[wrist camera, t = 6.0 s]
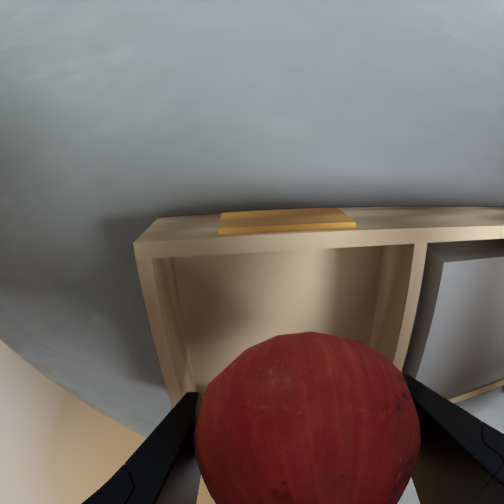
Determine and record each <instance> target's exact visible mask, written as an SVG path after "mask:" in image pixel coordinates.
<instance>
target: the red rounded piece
mask: <svg viewBox="0 0 504 504" xmlns="http://www.w3.org/2000/svg"><path fill="white" fill-rule="evenodd" d="M193 437H194V449H195V459H196V462H197V464H198V467H199V470H200V472H201V475H202V477H203V480H204V482H205V484H206V486H207V489H208V491H209V493H210V495H211V497H212V498H213V500H214V501H215V503H216V504H397V503H398V501H399V500H400V498H401V496H402V494H403V492H404V490H405V488H406V486H407V484H408V482H409V480H410V478H411V476H412V473H413V471H414V469H415V466H416V464H417V460H418V455H419V451H420V446H421V435H420V422H419V418H418V415H417V412H416V409H415V406H414V403H413V400H412V396H411V394H410V391H409V389H408V386H407V384H406V381H405V379H404V376H403V374H402V372H401V371H400V370H399V369H398V368H397V367H396V366H395V365H394V364H392V363H391V362H390V361H389V360H388V359H387V358H386V357H385V356H383V355H382V354H380V353H378V352H376V351H375V350H373V349H371V348H370V347H368V346H366V345H365V344H363V343H361V342H360V341H358V340H354V339H349V338H345V337H340V336H334V335H328V334H323V333H317V332H312V331H310V332H302V333H293V334H284V335H277V336H275V337H272V338H270V339H268V340H266V341H263V342H261V343H259V344H257V345H254V346H252V347H250V348H247V349H246V350H244V351H243V352H242V353H241V354H240V355H239V356H238V357H237V358H236V359H235V360H234V361H233V362H231V363H230V364H229V365H228V366H227V367H226V368H225V369H224V370H223V371H222V372H221V373H220V374H219V375H218V376H216V377H215V378H214V379H213V380H212V381H211V382H210V383H209V384H208V386H207V390H206V393H205V396H204V399H203V402H202V406H201V409H200V412H199V416H198V420H197V423H196V427H195V431H194V434H193Z"/></svg>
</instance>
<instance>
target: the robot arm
mask: <svg viewBox="0 0 504 504" xmlns="http://www.w3.org/2000/svg"><path fill="white" fill-rule="evenodd" d="M402 374H403V376H404V379H405V381H406V384H407V386H408V389H409V391H410V394H411V396H412V400H413V403H414V406H415V409H416V412H417V415H418V418H419V422H420V435H421V446H420V451H419V455H418V460H417V464H416V466H415V469H414V471H413V473H412V476H411V477H412V480H413V483H414V486H415V489H416V492H417V495H418V498H419V501H420V504H504V434H503V433H501V432H499V431H497V430H496V429H494V428H492V427H491V426H489V425H487V424H486V423H484V422H481V420H479V419H478V418H476V417H474V416H473V415H471V414H470V413H468V412H467V411H465V410H463V409H462V408H460V407H459V406H457V405H455V404H454V403H452V402H451V401H449V400H448V399H446V398H444V397H443V396H441V395H440V394H438V393H437V392H435V391H433V390H432V389H430V388H429V387H427V386H426V385H424V384H423V383H421V382H419V381H418V380H416V379H415V378H413V377H412V376H410V375H409V374H407V373H405V372H402ZM202 402H203V400H202V396H201V393H200V392H187V393H185V395H184V396H183V397H182V398H181V399H180V400H179V402H178V403H177V404H176V405H175V406H174V407H173V409H172V410H171V411H170V412H169V413H168V414H167V416H166V417H165V418H164V419H163V420H162V421H161V423H160V424H159V425H158V426H157V427H156V428H155V430H154V431H153V432H152V433H151V434H150V435H149V436H148V438H147V439H146V440H145V441H144V442H143V443H142V444H141V446H140V447H139V448H138V449H137V450H136V451H135V452H134V453H133V455H132V456H131V457H130V458H129V459H128V460H127V461H126V463H125V465H123V466H122V467H121V468H120V469H119V470H118V471H117V472H116V473H115V474H114V475H113V476H112V478H110V479H109V481H107V482H106V483H105V484H104V485H103V486H102V487H101V488H100V489H99V490H97V491H96V492H95V493H94V494H93V495H91V496H90V497H89V498H88V499H87V500H85V501H84V502H83V503H82V504H196V501H197V495H198V489H199V483H200V477H201V472H200V470H199V467H198V464H197V462H196V459H195V449H194V437H193V434H194V431H195V427H196V423H197V420H198V416H199V412H200V409H201V406H202Z"/></svg>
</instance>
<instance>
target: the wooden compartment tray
mask: <svg viewBox="0 0 504 504" xmlns="http://www.w3.org/2000/svg"><path fill="white" fill-rule="evenodd" d="M133 247H134V253H135V258H136V264H137V269H138V274H139V279H140V284H141V289H142V294H143V299H144V303H145V308H146V312H147V317H148V321H149V325H150V329H151V333H152V337H153V341H154V345H155V349H156V353H157V357H158V361H159V364H160V368H161V371H162V375H163V378H164V382H165V385H166V389H167V392H168V395H169V399H170V402H171V405H172V408H173V407H174V406H175V405H176V404H177V403H178V402H179V400H180V399H181V398H182V397H183V396H184V395H185V393H187V392H200V393H201V396H202V400H203V399H204V396H205V393H206V390H207V386H208V384H209V383H210V382H211V381H212V380H213V379H214V378H215V377H216V376H218V375H219V374H220V373H221V372H222V371H223V370H224V369H225V368H226V367H227V366H228V365H229V364H230V363H231V362H233V361H234V360H235V359H236V358H237V357H238V356H239V355H240V354H241V353H242V352H243V351H244V350H246V349H247V348H250V347H252V346H254V345H257V344H259V343H261V342H263V341H266V340H268V339H270V338H272V337H275V336H277V335H284V334H293V333H302V332H310V331H312V332H317V333H323V334H328V335H334V336H340V337H345V338H349V339H354V340H358V341H360V342H361V343H363V344H365V345H366V346H368V347H370V348H371V349H373V350H375V351H376V352H378V353H380V354H382V355H383V356H385V357H386V358H387V359H388V360H389V361H390V362H391V363H392V364H394V365H395V366H396V367H397V368H398V369H399V370H400V371H401V372H405V373H407V374H409V375H410V376H412V377H413V378H415V379H416V380H418V381H419V382H421V383H423V384H424V385H426V386H427V387H429V388H430V389H432V390H433V391H435V392H437V393H438V394H440V395H441V396H443V397H444V398H446V399H448V400H449V401H451V402H452V403H454V404H455V403H458V402H461V401H464V400H466V399H469V398H472V397H475V396H477V395H480V394H483V393H485V392H488V391H490V390H493V389H495V388H498V387H500V386H503V385H504V208H501V207H429V206H427V207H351V208H338V207H333V208H304V209H281V210H260V211H242V212H225V213H218V214H203V215H189V216H175V217H163V218H158V219H157V220H156V221H155V222H153V223H152V224H151V225H150V226H149V227H148V228H147V229H146V230H145V231H144V232H143V233H142V234H141V235H140V236H139V237H138V238H137V239H136V240H135V241H134V242H133Z"/></svg>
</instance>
